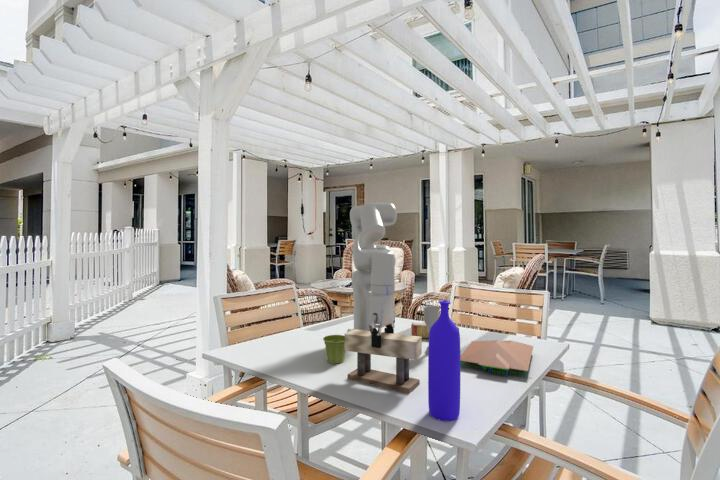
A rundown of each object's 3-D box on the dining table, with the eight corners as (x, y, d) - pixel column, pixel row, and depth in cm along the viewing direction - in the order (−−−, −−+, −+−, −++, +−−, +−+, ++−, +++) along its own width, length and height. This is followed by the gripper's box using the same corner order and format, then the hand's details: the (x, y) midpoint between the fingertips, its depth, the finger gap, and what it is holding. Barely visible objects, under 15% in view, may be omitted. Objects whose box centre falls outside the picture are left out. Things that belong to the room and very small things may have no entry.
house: (455, 371, 132) (455, 348, 131) (474, 346, 161) (474, 327, 161) (527, 383, 121) (527, 358, 121) (533, 354, 150) (533, 333, 150)
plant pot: (351, 358, 144) (351, 336, 144) (342, 367, 135) (342, 342, 135) (329, 356, 147) (329, 333, 147) (318, 364, 138) (318, 340, 138)
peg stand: (347, 378, 124) (347, 350, 124) (360, 371, 131) (360, 343, 131) (409, 393, 113) (409, 361, 112) (419, 384, 120) (419, 354, 119)
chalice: (440, 356, 147) (440, 309, 146) (422, 354, 148) (422, 309, 148) (439, 350, 154) (440, 306, 154) (423, 349, 155) (423, 305, 155)
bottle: (424, 407, 104) (425, 298, 103) (454, 406, 104) (454, 298, 104) (433, 422, 95) (433, 304, 95) (464, 421, 96) (465, 303, 96)
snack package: (458, 337, 174) (458, 322, 174) (459, 341, 167) (459, 326, 167) (411, 335, 177) (411, 320, 177) (411, 339, 171) (411, 324, 171)
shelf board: (344, 350, 123) (344, 333, 123) (352, 345, 129) (352, 329, 129) (416, 360, 114) (416, 342, 114) (421, 353, 120) (421, 336, 120)
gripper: (384, 285, 131) (384, 335, 131) (358, 292, 116) (358, 349, 116) (404, 287, 127) (404, 339, 127) (380, 294, 112) (380, 353, 112)
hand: (382, 343), depth 122 cm, fingers open, 8 cm apart
